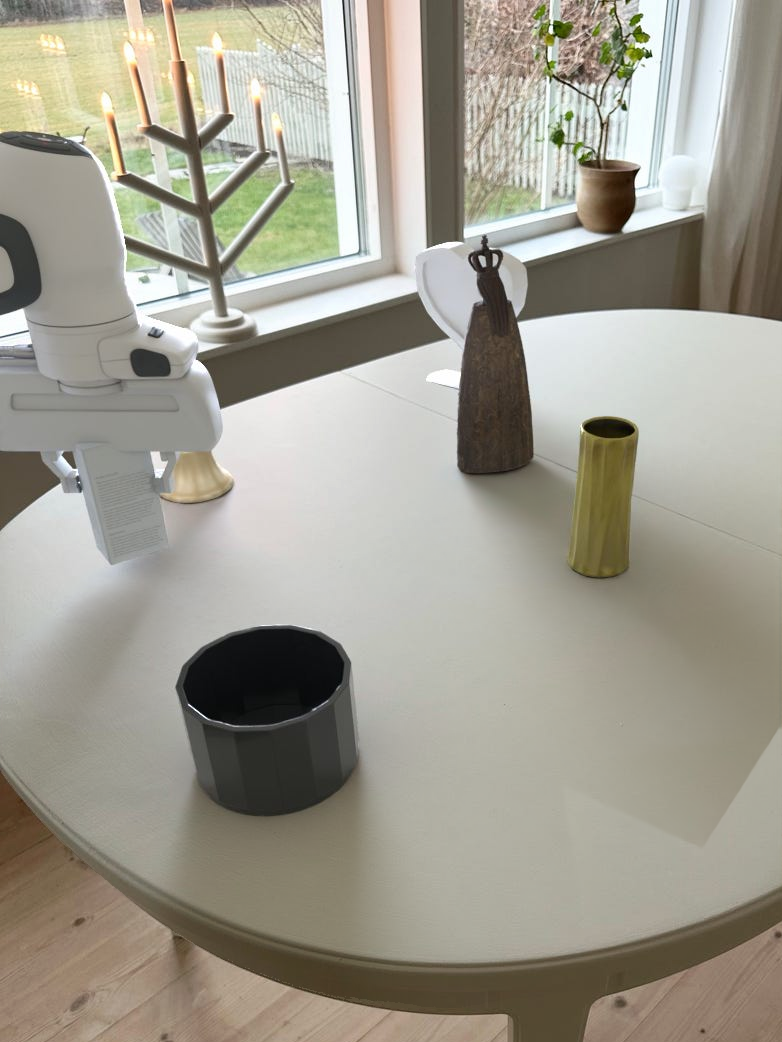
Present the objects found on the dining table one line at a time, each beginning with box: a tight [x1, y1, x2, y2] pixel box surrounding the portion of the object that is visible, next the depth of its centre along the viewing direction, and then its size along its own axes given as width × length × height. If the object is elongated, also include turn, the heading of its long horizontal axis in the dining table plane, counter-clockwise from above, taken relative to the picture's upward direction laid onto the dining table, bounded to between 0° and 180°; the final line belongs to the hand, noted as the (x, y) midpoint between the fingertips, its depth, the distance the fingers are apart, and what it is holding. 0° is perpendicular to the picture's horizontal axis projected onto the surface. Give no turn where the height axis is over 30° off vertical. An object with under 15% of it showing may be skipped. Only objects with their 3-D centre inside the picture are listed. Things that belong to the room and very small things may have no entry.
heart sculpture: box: [414, 241, 529, 390], centre depth 128 cm, size 16×5×18 cm, turn 56°
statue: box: [456, 234, 535, 475], centre depth 105 cm, size 9×8×25 cm
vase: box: [566, 415, 640, 579], centre depth 90 cm, size 6×6×14 cm
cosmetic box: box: [71, 443, 170, 566], centre depth 90 cm, size 6×4×12 cm
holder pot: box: [174, 624, 360, 817], centre depth 69 cm, size 12×12×8 cm
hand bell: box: [159, 450, 235, 504], centre depth 103 cm, size 8×8×16 cm
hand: (120, 490), depth 90 cm, fingers closed on cosmetic box, 7 cm apart
